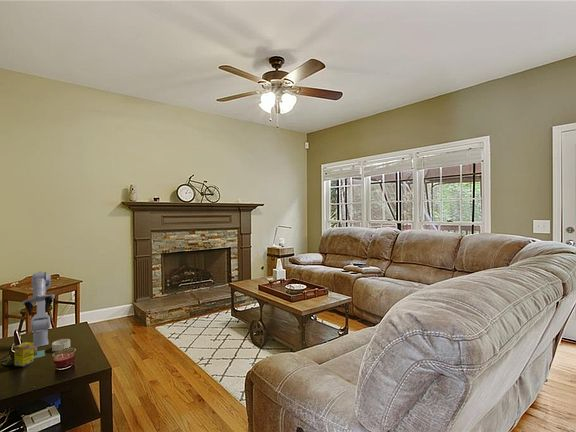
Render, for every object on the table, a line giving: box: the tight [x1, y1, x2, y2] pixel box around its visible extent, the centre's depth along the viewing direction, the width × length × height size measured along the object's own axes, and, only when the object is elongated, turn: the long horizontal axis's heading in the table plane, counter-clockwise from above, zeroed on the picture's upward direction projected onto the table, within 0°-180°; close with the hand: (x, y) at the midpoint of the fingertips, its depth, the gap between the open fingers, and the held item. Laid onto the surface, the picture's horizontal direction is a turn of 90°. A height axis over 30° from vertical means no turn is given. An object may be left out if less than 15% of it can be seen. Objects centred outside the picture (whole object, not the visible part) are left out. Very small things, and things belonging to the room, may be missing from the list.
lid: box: [34, 347, 46, 359], centre depth 185 cm, size 10×10×5 cm
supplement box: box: [13, 341, 35, 368], centre depth 174 cm, size 6×6×11 cm
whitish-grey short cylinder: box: [51, 338, 71, 352], centre depth 194 cm, size 9×9×4 cm
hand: (38, 313), depth 178 cm, fingers open, 7 cm apart
